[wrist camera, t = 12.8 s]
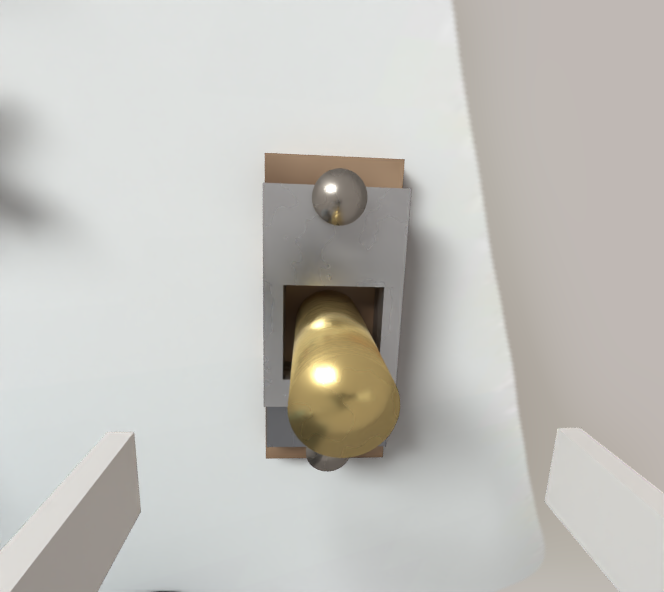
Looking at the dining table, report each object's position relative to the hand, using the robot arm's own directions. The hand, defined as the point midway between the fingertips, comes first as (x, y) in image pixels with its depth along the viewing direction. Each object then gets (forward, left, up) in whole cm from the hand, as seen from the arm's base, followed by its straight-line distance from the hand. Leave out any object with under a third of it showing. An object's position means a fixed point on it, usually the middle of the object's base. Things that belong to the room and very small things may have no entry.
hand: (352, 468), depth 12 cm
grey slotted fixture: (0, 0, -15) cm, 15 cm away
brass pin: (0, 0, -15) cm, 15 cm away
